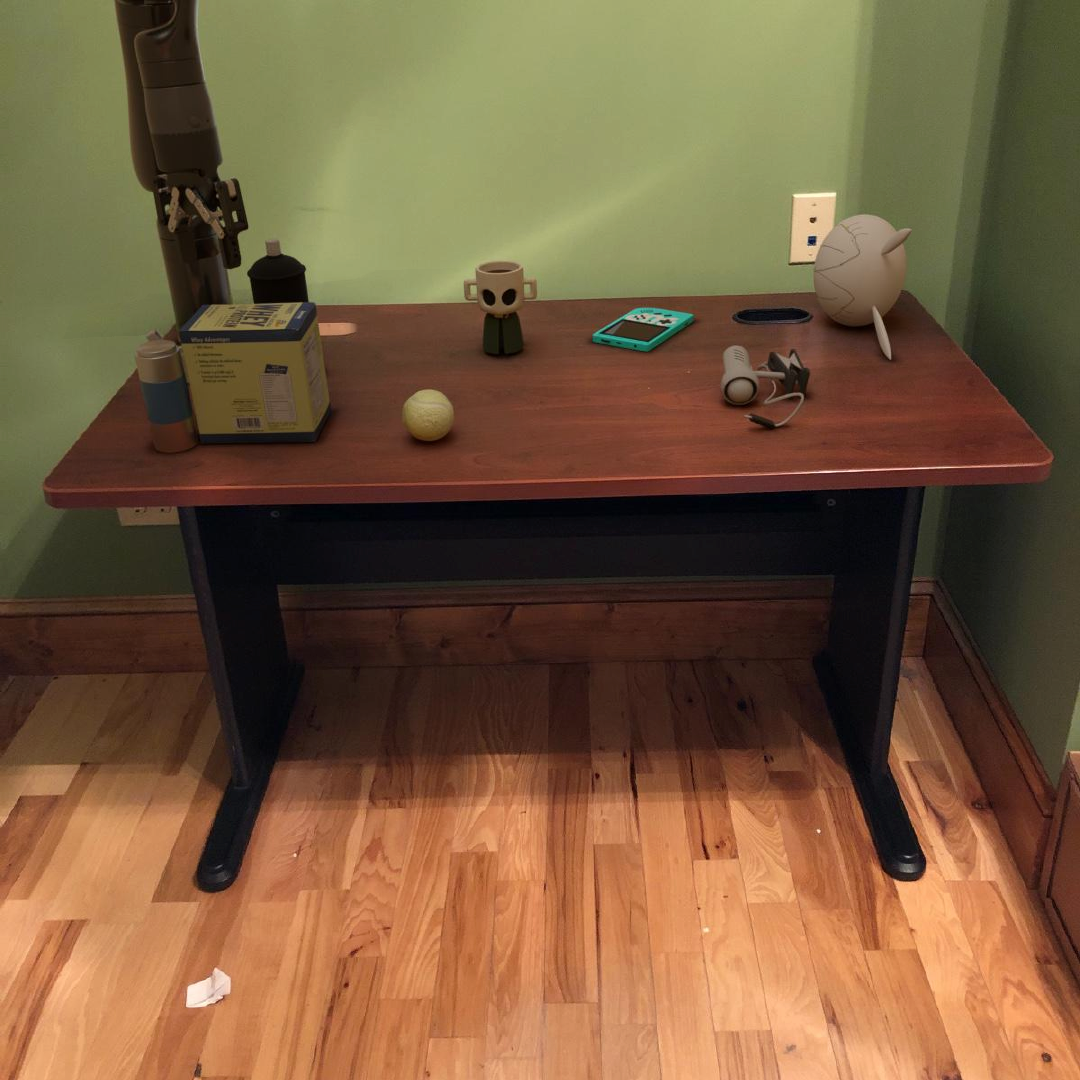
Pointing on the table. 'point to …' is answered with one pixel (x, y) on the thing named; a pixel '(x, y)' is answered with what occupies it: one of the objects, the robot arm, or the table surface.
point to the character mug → (501, 303)
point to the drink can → (166, 396)
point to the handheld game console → (643, 328)
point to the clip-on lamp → (744, 381)
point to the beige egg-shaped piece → (861, 272)
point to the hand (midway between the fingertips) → (210, 264)
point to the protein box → (256, 373)
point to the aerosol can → (277, 277)
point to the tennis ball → (428, 415)
